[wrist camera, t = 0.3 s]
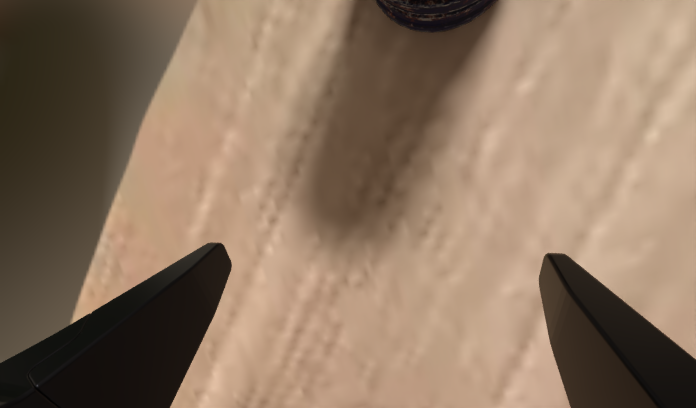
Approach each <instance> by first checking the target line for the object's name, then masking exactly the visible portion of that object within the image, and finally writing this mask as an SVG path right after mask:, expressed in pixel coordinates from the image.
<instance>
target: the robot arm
mask: <svg viewBox="0 0 696 408" xmlns="http://www.w3.org/2000/svg"><path fill="white" fill-rule="evenodd" d="M231 267H232V264H231V260H230V258H229V256H228V253H227V251H226V249H225V247H224V245H223V244H222V243H207V244H206V245H204V246H202V247H201V248H199V249H197V250H195V251H194V252H192V253H190V254H189V255H187V256H185V257H184V258H182V259H180V260H179V261H177V262H175V263H174V264H172V265H170V266H169V267H167V268H165V269H164V270H162V271H160V272H158V273H157V274H155V275H153V276H152V277H150V278H148V279H147V280H145V281H143V282H142V283H140V284H138V285H137V286H135V287H133V288H132V289H130V290H128V291H127V292H125V293H123V294H121V295H120V296H118V297H116V298H115V299H113V300H111V301H110V302H108V303H106V304H105V305H103V306H101V307H100V308H98V309H96V310H95V311H93V312H92V313H91V314H88V315H86V316H84V317H83V318H81V319H79V320H78V321H76V322H74V323H73V324H71V325H69V326H67V327H66V328H64V329H62V330H60V331H59V332H57V333H55V334H53V335H52V336H50V337H48V338H46V339H44V340H43V341H41V342H39V343H37V344H35V345H33V346H31V347H30V348H28V349H26V350H24V351H22V352H20V353H18V354H17V355H15V356H13V357H11V358H9V359H7V360H5V361H3V362H2V363H0V408H170V406H171V404H172V402H173V400H174V398H175V396H176V394H177V392H178V390H179V388H180V386H181V383H182V381H183V379H184V377H185V375H186V373H187V371H188V369H189V367H190V365H191V363H192V361H193V359H194V356H195V354H196V352H197V350H198V348H199V346H200V344H201V342H202V340H203V338H204V336H205V334H206V332H207V329H208V327H209V325H210V323H211V321H212V319H213V317H214V315H215V312H216V310H217V307H218V305H219V302H220V299H221V296H222V294H223V291H224V288H225V285H226V283H227V280H228V277H229V274H230V272H231ZM539 287H540V293H541V298H542V303H543V308H544V314H545V319H546V324H547V329H548V334H549V339H550V344H551V347H552V350H553V354H554V357H555V360H556V363H557V366H558V369H559V372H560V376H561V379H562V382H563V385H564V388H565V391H566V394H567V397H568V400H569V404H570V407H571V408H696V359H695V358H693V357H692V356H691V355H690V354H688V353H687V352H686V351H685V350H684V349H682V348H681V347H680V346H679V345H677V344H676V343H675V342H674V341H672V340H671V339H670V338H669V337H667V336H666V335H665V334H664V333H662V332H661V331H660V330H659V329H658V328H656V327H655V326H654V325H653V324H651V323H650V322H649V321H648V320H646V319H645V318H644V317H643V316H641V315H640V314H639V313H638V312H637V311H635V310H634V309H633V308H632V307H630V306H629V305H628V304H627V303H625V302H624V301H623V300H622V299H620V298H619V297H618V296H617V295H615V294H614V293H613V292H612V291H611V290H609V289H608V288H607V287H606V286H604V285H603V284H602V283H601V282H599V281H598V280H597V279H596V278H594V277H593V276H592V275H591V274H589V273H588V272H587V271H586V270H585V269H583V268H582V267H581V266H580V265H578V264H577V263H576V262H575V261H573V260H572V259H571V258H570V257H568V256H567V255H565V254H562V253H547V254H546V255H545V256H544V259H543V263H542V267H541V271H540V275H539Z"/></svg>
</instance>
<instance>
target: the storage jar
mask: <svg viewBox="0 0 696 408" xmlns="http://www.w3.org/2000/svg"><path fill="white" fill-rule="evenodd" d="M376 2H377V4H378V6H379V7H380V8H381V9H382V11H383V12H384V13H385V14H386V15H387V16H388V17H389V18H390V19H391V20H393V21H394V22H396V23H398V24H399V25H401V26H403V27H406V28H408V29H411V30H415V31H420V32H440V31H446V30H450V29H454V28H457V27H459V26H462V25H464V24H466V23H469V22H470V21H472V20H474V19H475V18H477V17H478V16H480V15H481V14H482V13H484V12H485V11H486V10H487V9H489V8H490V7H491V6H492V5H493V4H494V3H495V2H496V0H376Z"/></svg>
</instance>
